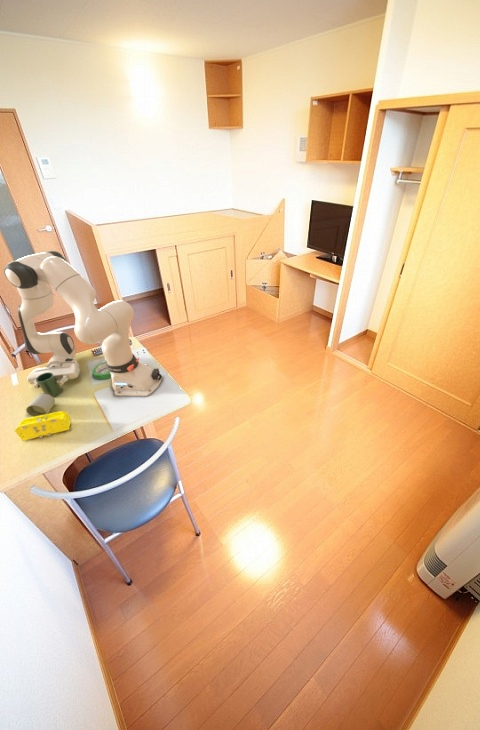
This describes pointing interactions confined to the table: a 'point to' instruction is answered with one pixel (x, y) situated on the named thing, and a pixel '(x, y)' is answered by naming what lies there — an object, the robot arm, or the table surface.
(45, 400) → the ceramic mug
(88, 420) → the table surface
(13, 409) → the table surface
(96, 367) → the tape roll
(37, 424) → the yellow toy chassis
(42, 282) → the robot arm
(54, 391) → the green cup
